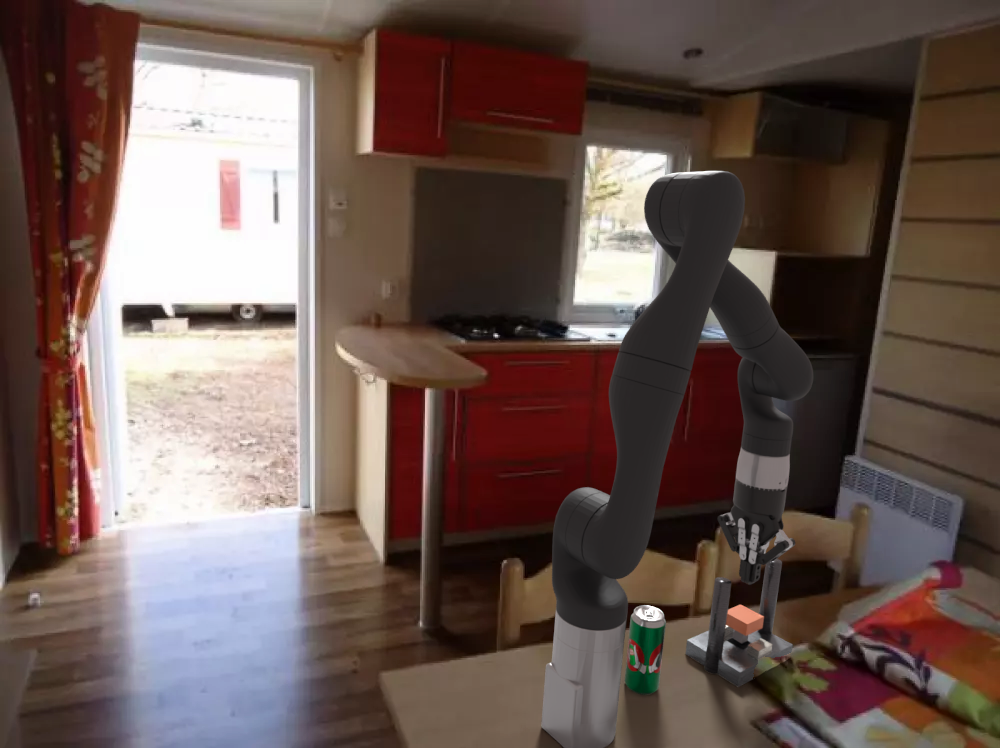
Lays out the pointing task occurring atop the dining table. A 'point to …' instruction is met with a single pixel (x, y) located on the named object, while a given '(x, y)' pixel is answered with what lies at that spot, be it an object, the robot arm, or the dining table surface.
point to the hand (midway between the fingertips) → (748, 581)
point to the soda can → (645, 650)
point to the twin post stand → (718, 641)
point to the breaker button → (743, 622)
